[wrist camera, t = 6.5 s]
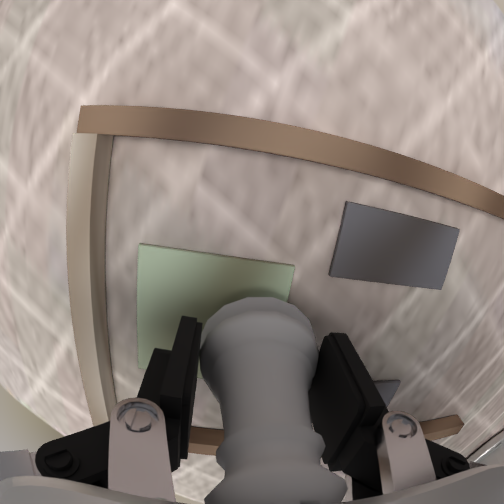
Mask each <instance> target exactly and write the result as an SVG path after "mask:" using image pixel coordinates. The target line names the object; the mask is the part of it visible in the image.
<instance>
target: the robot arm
mask: <svg viewBox="0 0 504 504" xmlns="http://www.w3.org/2000/svg"><path fill="white" fill-rule="evenodd" d="M202 325H203V323H202V322H197V318H195V317H189V316H182V317H181V320H180V323H179V327H178V330H177V333H176V337H175V340H174V344H173V347H172V350H166V349H160V348H154V350H153V353H152V356H151V358H150V361H149V364H148V367H147V370H146V372H145V375H144V378H143V381H142V384H141V387H140V390H139V393H138V396H137V398H128V399H125V400H122V401H121V402H119V403H117V404H116V405H115V407H114V408H113V409H112V413H111V420H110V421H108V422H105V423H103V424H100V425H97V426H94V427H91V428H89V429H86V430H83V431H80V432H77V433H74V434H71V435H68V436H65V437H62V438H59V439H56V440H52V441H50V442H47V443H45V444H43V445H42V446H41V447H40V448H39V449H38V451H37V452H31V453H30V452H29V451H28V449H27V450H18V451H5V452H0V504H185V503H178V502H176V499H175V493H174V487H173V481H172V474H171V472H173V471H175V470H177V469H178V467H180V460H181V459H187V457H188V448H189V439H190V431H191V423H192V415H193V407H194V399H195V391H196V383H197V373H198V363H199V352H200V344H201V334H202ZM308 396H309V408H310V415H311V419H312V423H313V426H314V430H315V432H316V433H318V434H320V435H321V436H322V438H323V441H324V443H325V449H324V452H323V454H322V459H323V462H324V464H328V467H329V470H330V471H331V472H332V471H343V473H345V482H346V484H347V487H348V490H347V492H346V494H345V500H346V502H341V503H333V504H504V431H502V432H501V433H499V434H498V435H496V436H495V437H494V438H493V439H491V440H490V441H489V442H487V443H486V444H485V445H484V446H482V447H481V448H480V449H479V450H477V451H476V452H475V453H474V454H473V455H471V456H470V457H469V458H468V459H467V460H466V458H465V457H464V456H462V455H461V454H459V453H457V452H455V451H452V450H450V449H448V448H445V447H443V446H441V445H439V444H436V443H434V442H432V441H430V440H428V439H425V438H424V435H423V431H422V428H421V426H420V424H419V422H418V421H417V419H416V418H415V417H413V416H412V415H410V414H408V413H406V412H402V411H391V412H389V411H388V409H387V408H386V404H385V402H384V401H383V399H382V397H381V395H380V393H379V391H378V390H377V388H376V386H375V384H374V382H373V380H372V379H371V377H370V375H369V373H368V371H367V370H366V368H365V366H364V364H363V363H362V361H361V359H360V357H359V355H358V354H357V352H356V350H355V348H354V347H353V345H352V343H351V341H350V340H349V338H348V336H347V335H346V334H345V333H332V332H331V333H330V334H329V336H325V337H324V339H323V342H322V345H321V348H320V351H319V358H318V363H317V368H316V373H315V376H314V378H313V379H312V384H311V388H310V389H309V391H308Z"/></svg>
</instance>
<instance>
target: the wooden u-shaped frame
mask: <svg viewBox="0 0 504 504" xmlns="http://www.w3.org/2000/svg"><path fill="white" fill-rule="evenodd" d="M114 136H132V137H146V138H158V139H169V140H179V141H188V142H197V143H205V144H213V145H220V146H227V147H234V148H241V149H247V150H253V151H259V152H265V153H271V154H277V155H282V156H287V157H292V158H298V159H302V160H307V161H312V162H317V163H321V164H326V165H330V166H335V167H339V168H343V169H347V170H352V171H356V172H360V173H364V174H368V175H371V176H375V177H379V178H383V179H386V180H390V181H393V182H397V183H400V184H404V185H407V186H411V187H414V188H417V189H420V190H424V191H427V192H430V193H433V194H436V195H439V196H442V197H445V198H448V199H451V200H454V201H457V202H460V203H463V204H466V205H468V206H471V207H474V208H477V209H479V210H482V211H485V212H487V213H490V214H492V215H495V216H497V217H500V218H502V219H504V196H503V195H501V194H499V193H497V192H495V191H492V190H490V189H488V188H486V187H484V186H481V185H479V184H477V183H475V182H472V181H470V180H468V179H465V178H463V177H460V176H458V175H455V174H453V173H450V172H448V171H445V170H443V169H440V168H438V167H435V166H432V165H429V164H427V163H424V162H421V161H418V160H415V159H413V158H410V157H407V156H404V155H401V154H398V153H395V152H391V151H388V150H385V149H382V148H379V147H375V146H372V145H368V144H365V143H361V142H358V141H354V140H350V139H347V138H343V137H339V136H335V135H331V134H327V133H323V132H319V131H314V130H310V129H305V128H301V127H296V126H291V125H286V124H281V123H276V122H271V121H265V120H259V119H254V118H247V117H241V116H234V115H227V114H220V113H212V112H203V111H194V110H184V109H173V108H159V107H142V106H109V105H90V106H81V108H80V114H79V121H78V127H77V133H73V134H72V142H71V151H70V161H69V173H68V188H67V217H66V240H67V269H68V284H69V296H70V306H71V315H72V323H73V330H74V337H75V344H76V350H77V356H78V361H79V367H80V372H81V377H82V381H83V386H84V390H85V395H86V399H87V403H88V407H89V411H90V415H91V418H92V422H93V425H94V426H97V425H100V424H103V423H105V422H108V421H110V420H111V413H112V409H113V408H114V407H115V405H116V398H115V391H114V384H113V377H112V369H111V361H110V351H109V341H108V329H107V314H106V292H105V230H106V208H107V193H108V181H109V170H110V161H111V152H112V145H113V137H114ZM459 230H460V229H457V228H454V227H450V226H447V225H443V224H439V223H435V222H432V221H428V220H424V219H420V218H416V217H412V216H408V215H404V214H400V213H396V212H392V211H388V210H383V209H379V208H375V207H370V206H366V205H361V204H356V203H352V202H347V201H346V204H345V209H344V213H343V218H342V222H341V227H340V231H339V235H338V240H337V244H336V248H335V252H334V256H333V260H332V264H331V268H330V272H329V276H330V277H338V278H346V279H354V280H362V281H370V282H379V283H387V284H395V285H404V286H412V287H421V288H429V289H438V290H441V289H442V286H443V283H444V280H445V277H446V274H447V271H448V268H449V265H450V262H451V259H452V255H453V252H454V249H455V245H456V242H457V238H458V234H459ZM294 270H295V266H294V265H290V264H282V263H275V262H268V261H261V260H253V259H246V258H239V257H232V256H225V255H218V254H211V253H203V252H196V251H189V250H182V249H175V248H168V247H161V246H155V245H148V244H141V243H140V244H139V246H138V270H137V344H138V367H139V368H140V369H145V370H147V367H148V364H149V361H150V358H151V356H152V353H153V350H154V348H160V349H166V350H172V347H173V344H174V340H175V337H176V333H177V330H178V327H179V323H180V320H181V317H182V316H189V317H195V318H197V322H202V323H203V325H202V331H203V329H204V327H205V324H206V322H207V320H208V319H209V318H210V317H212V316H213V315H214V314H215V313H216V312H217V311H219V310H220V309H221V308H222V307H223V306H224V305H227V304H230V303H233V302H236V301H238V300H241V299H244V298H247V297H274V298H276V299H279V300H281V301H284V302H287V300H288V296H289V291H290V287H291V283H292V278H293V274H294ZM197 378H201V379H203V377H202V374H201V371H200V359H199V363H198V373H197ZM373 382H374V384H375V386H376V388H377V390H378V391H379V393H380V395H381V397H382V399H383V401H384V402H385V404H386V408H387V406H388V405H389V403H390V401H391V399H392V398H393V396H394V394H395V392H396V390H397V388H398V387H399V385H400V383H401V382H400V380H392V381H373ZM310 420H311V423H312V419H311V415H310ZM419 424H420V426H421V428H422V431H423V435H424V438H425V439H428V440H430V441H432V440H436V439H440V438H444V437H447V436H451V435H454V434H458V432H459V431H460V430H461V428H462V427H463V426H464V423H463V422H462V420H461V419H460V418H459V416H458V415H453V416H449V417H444V418H440V419H435V420H430V421H425V422H419ZM223 441H224V430H216V429H207V428H199V427H191V431H190V439H189V448H188V452H189V453H196V454H205V455H214V456H216V450H217V449H218V447H219V446H220V445H221V443H222V442H223Z"/></svg>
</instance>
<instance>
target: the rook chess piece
mask: <svg viewBox="0 0 504 504" xmlns="http://www.w3.org/2000/svg"><path fill="white" fill-rule="evenodd" d="M318 358H319V350H318V347H317V344H316V341H315V335H314V332H313V329H312V326H311V323H310V320H309V319H308V318H307V317H306V316H305V315H304V314H303V313H302V312H301V311H300V310H299V309H298V308H297V307H296V306H295V305H292V304H289V303H287V302H284V301H281V300H279V299H276V298H274V297H247V298H244V299H241V300H238V301H236V302H233V303H230V304H227V305H224V306H223V307H222V308H221V309H220V310H219V311H217V312H216V313H215V314H214V315H213V316H212V317H210V318H209V319H208V320H207V322H206V324H205V327H204V329H203V331H202V334H201V344H200V352H199V359H200V371H201V374H202V377H203V379H204V380H205V382H206V383H207V385H208V387H209V388H210V390H211V391H212V393H213V394H214V396H215V398H216V399H217V401H218V402H219V403H220V408H221V414H222V420H223V426H224V441H223V442H222V443H221V445H220V446H219V447H218V449H217V450H216V459H217V463H218V464H219V465H220V466H221V467H222V468H223V469H224V470H225V477H224V479H223V480H222V481H221V482H220V483H219V484H218V485H217V486H216V487H215V488H214V489H213V490H212V491H211V492H210V493H209V494H208V495H207V496H206V498H205V499H204V501H205V504H333V503H341V501H342V500H343V498H344V496H345V494H346V492H347V490H348V487H347V484H346V482H345V479H343V478H342V477H340V476H338V475H336V474H334V473H333V472H331V471H329V470H327V469H326V468H324V467H322V466H321V465H320V458H321V457H322V454H323V452H324V449H325V443H324V441H323V438H322V436H321V435H320V434H318V433H316V432H315V431H313V428H312V424H311V420H310V408H309V396H308V391H309V389H310V388H311V384H312V379H313V378H314V376H315V373H316V368H317V363H318Z"/></svg>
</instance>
